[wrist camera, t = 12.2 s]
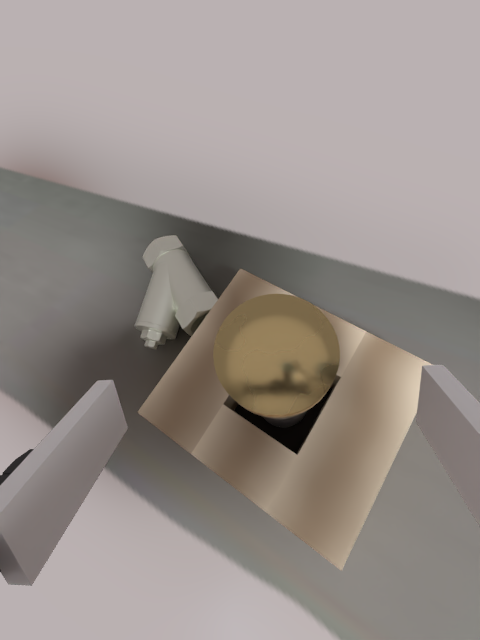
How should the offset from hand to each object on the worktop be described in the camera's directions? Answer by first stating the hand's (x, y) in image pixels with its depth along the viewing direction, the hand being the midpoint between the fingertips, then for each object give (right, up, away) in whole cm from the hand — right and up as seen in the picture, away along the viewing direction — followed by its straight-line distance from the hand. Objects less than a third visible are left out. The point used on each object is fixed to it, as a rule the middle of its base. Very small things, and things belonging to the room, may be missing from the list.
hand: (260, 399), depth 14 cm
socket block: (+2, -2, +9) cm, 10 cm away
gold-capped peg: (+2, -2, +9) cm, 10 cm away
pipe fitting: (-7, +5, +14) cm, 16 cm away
